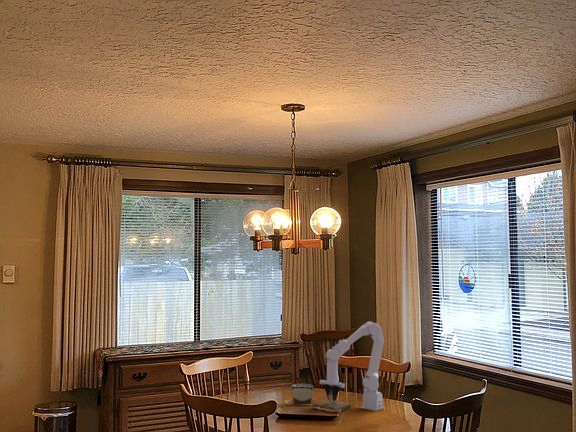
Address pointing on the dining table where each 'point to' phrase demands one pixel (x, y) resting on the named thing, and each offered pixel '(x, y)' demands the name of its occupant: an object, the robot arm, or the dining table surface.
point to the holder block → (335, 407)
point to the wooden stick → (331, 399)
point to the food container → (302, 393)
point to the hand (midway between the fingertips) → (331, 400)
